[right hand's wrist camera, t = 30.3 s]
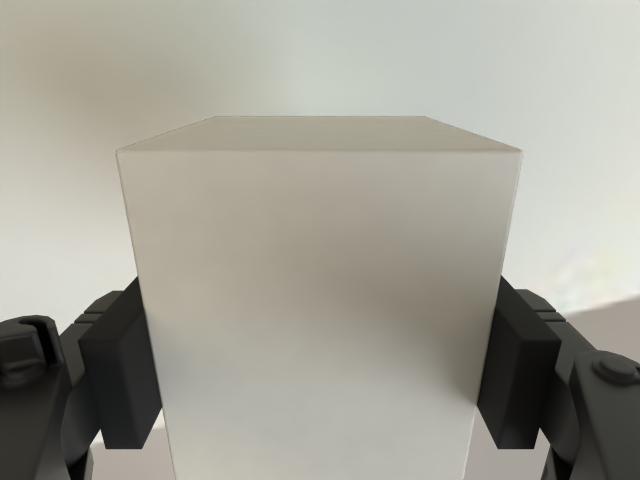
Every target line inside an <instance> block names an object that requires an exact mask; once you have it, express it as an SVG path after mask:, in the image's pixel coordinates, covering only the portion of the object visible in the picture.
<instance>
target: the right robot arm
mask: <svg viewBox="0 0 640 480" xmlns="http://www.w3.org/2000/svg"><path fill="white" fill-rule="evenodd" d="M477 407H478V409H479V411H480V413H481V415H482V417H483V419H484V421H485V423H486V425H487V428H488V430H489V432H490V434H491V436H492V438H493V440H494V442H495V444H496V446H497V448H498V449H534V446H535V443H536V439H537V435H538V431H539V427H540V428H541V430H542V432H543V433H544V435H545V436H546V438H547V439H548V441H549V443H550V444H551V445H550V449H549V452H548V456H547V459H546V463H545V466H544V470H543V473H542V477H541V480H640V364H639V363H637V362H635V361H633V360H631V359H629V358H626V357H624V356H622V355H618V354H615V353H611V352H608V351H600V350H596V349H595V348H594V347H593V346H592V345H591V344H590V343H589V342H588V341H587V340H586V339H585V338H584V337H583V336H582V335H581V334H580V333H579V332H578V331H577V330H576V329H575V328H574V327H573V326H572V325H571V324H570V323H569V322H566V319H565V318H564V317H562V316H561V315H560V314H559V313H558V312H556V310H555V309H554V308H553V307H552V306H551V305H550V304H549V303H548V302H547V301H546V300H545V299H544V298H542V297H540V296H538V295H536V294H534V293H533V292H531V291H529V290H527V289H514V288H513V287H512V286H511V285H510V284H509V283H508V282H507V281H506V280H505V279H504V278H503V276H502V275H501V277H500V283H499V288H498V294H497V299H496V304H495V310H494V315H493V321H492V326H491V332H490V337H489V343H488V348H487V353H486V359H485V364H484V370H483V375H482V381H481V386H480V392H479V397H478V402H477ZM161 408H162V403H161V398H160V392H159V387H158V382H157V376H156V371H155V365H154V360H153V354H152V349H151V344H150V338H149V333H148V327H147V322H146V316H145V311H144V306H143V300H142V295H141V290H140V284H139V279H138V276H137V277H136V278H135V279H134V280H133V281H132V283H131V284H130V285H129V286H128V287H127V288H126V289H125V290H124V291H112V292H110V293H108V294H106V295H104V296H103V297H101V298H99V299H97V300H95V301H94V302H93V303H92V304H91V305H90V306H89V307H88V308H87V309H86V310H85V311H84V314H81V315H80V316H79V317H78V318H77V319H76V320H75V321H74V324H71V325H70V326H69V327H68V328H67V329H66V330H65V331H64V332H63V333H62V334H61V335H60V336H59V335H58V331H57V328H56V324H55V321H54V320H53V319H51V318H50V317H48V316H40V315H32V316H22V317H18V318H14V319H9V320H6V321H3V322H0V480H91V478H92V471H93V457H92V452H91V448H90V444H91V443H92V441H93V440H94V438H95V436H96V435H97V433H98V432H99V430H100V429H101V433H102V436H103V440H104V444H105V448H106V449H142V448H143V446H144V443H145V441H146V439H147V437H148V435H149V433H150V431H151V429H152V427H153V425H154V423H155V421H156V419H157V417H158V415H159V412H160V410H161Z"/></svg>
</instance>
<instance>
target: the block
mask: <svg viewBox="0 0 640 480" xmlns="http://www.w3.org/2000/svg"><path fill="white" fill-rule="evenodd" d="M522 157H523V151H522V150H520V149H518V148H515V147H512V146H509V145H506V144H503V143H500V142H497V141H494V140H491V139H488V138H486V137H483V136H480V135H477V134H474V133H471V132H468V131H465V130H462V129H459V128H456V127H454V126H451V125H448V124H445V123H442V122H439V121H436V120H433V119H430V118H427V117H424V116H214V117H211V118H208V119H205V120H202V121H200V122H197V123H194V124H191V125H188V126H185V127H182V128H179V129H176V130H173V131H170V132H167V133H164V134H162V135H159V136H156V137H153V138H150V139H147V140H144V141H141V142H138V143H135V144H132V145H129V146H127V147H124V148H121V149H118V150H117V151H116V159H117V164H118V170H119V175H120V181H121V186H122V192H123V197H124V202H125V208H126V213H127V219H128V224H129V230H130V235H131V241H132V246H133V251H134V257H135V262H136V268H137V273H138V279H139V284H140V290H141V295H142V300H143V306H144V311H145V316H146V322H147V327H148V333H149V338H150V344H151V349H152V354H153V360H154V365H155V371H156V376H157V382H158V387H159V392H160V398H161V403H162V409H163V415H164V420H165V426H166V431H167V437H168V442H169V447H170V453H171V458H172V464H173V469H174V475H175V480H463V479H464V473H465V468H466V462H467V457H468V451H469V446H470V440H471V435H472V430H473V424H474V419H475V413H476V408H477V402H478V397H479V392H480V386H481V381H482V375H483V370H484V364H485V359H486V353H487V348H488V343H489V337H490V332H491V326H492V321H493V315H494V310H495V304H496V299H497V294H498V288H499V283H500V277H501V272H502V266H503V261H504V255H505V250H506V244H507V239H508V234H509V228H510V223H511V217H512V212H513V206H514V201H515V195H516V190H517V185H518V179H519V174H520V168H521V163H522Z"/></svg>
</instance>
